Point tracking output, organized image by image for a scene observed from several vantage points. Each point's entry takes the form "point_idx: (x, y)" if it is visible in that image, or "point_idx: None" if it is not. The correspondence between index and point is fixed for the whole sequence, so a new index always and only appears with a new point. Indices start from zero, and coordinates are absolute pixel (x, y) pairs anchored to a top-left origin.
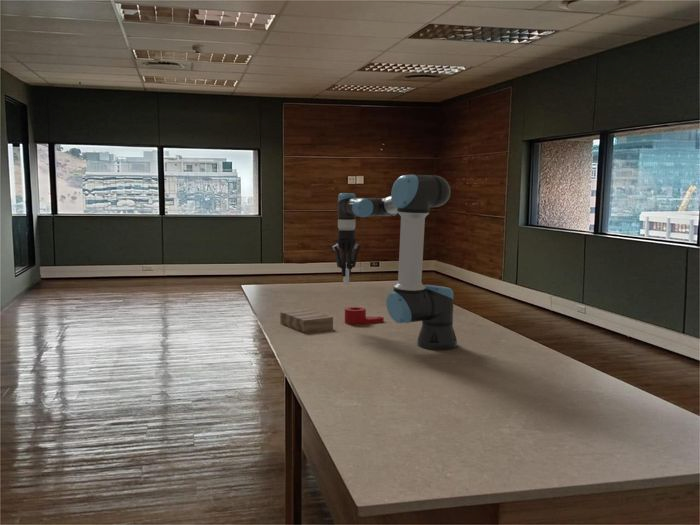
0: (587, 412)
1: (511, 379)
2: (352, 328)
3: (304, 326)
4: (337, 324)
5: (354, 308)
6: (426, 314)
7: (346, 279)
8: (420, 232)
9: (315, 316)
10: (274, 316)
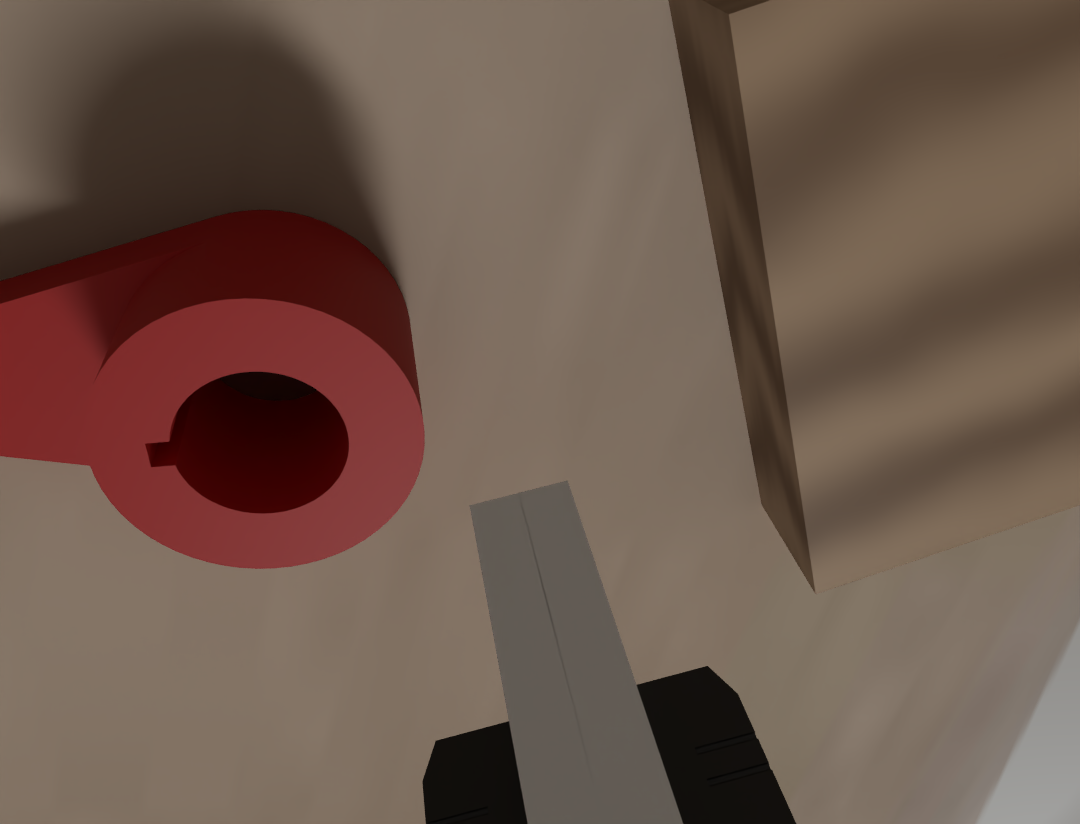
0: None
1: None
2: (371, 17)
3: None
4: (513, 303)
5: (262, 508)
6: None
7: (584, 582)
8: None
9: (950, 123)
10: (952, 686)
